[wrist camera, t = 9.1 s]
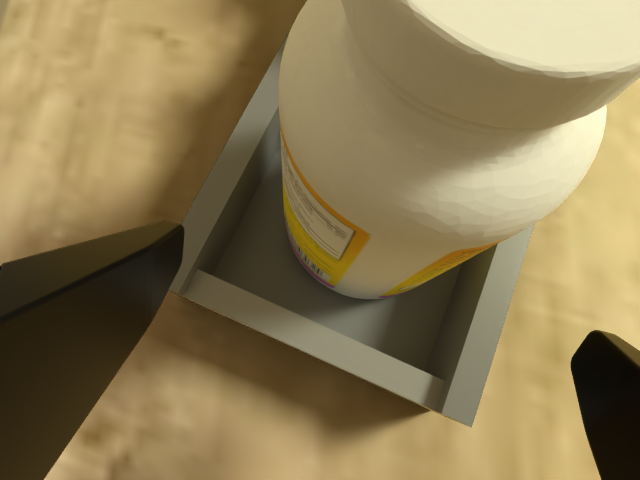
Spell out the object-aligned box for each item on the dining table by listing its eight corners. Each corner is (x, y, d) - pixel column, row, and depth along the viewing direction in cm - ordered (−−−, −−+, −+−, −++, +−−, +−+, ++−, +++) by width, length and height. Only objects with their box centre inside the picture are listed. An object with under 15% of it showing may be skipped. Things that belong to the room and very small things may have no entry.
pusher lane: (431, 410, 17) (524, 448, 10) (179, 295, 17) (111, 260, 11) (550, 59, 21) (665, -70, 15) (350, -24, 22) (376, -186, 15)
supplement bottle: (456, 172, 18) (796, -190, 6) (425, 321, 17) (818, 237, 4) (308, 130, 18) (348, -319, 6) (262, 275, 17) (190, 58, 4)
